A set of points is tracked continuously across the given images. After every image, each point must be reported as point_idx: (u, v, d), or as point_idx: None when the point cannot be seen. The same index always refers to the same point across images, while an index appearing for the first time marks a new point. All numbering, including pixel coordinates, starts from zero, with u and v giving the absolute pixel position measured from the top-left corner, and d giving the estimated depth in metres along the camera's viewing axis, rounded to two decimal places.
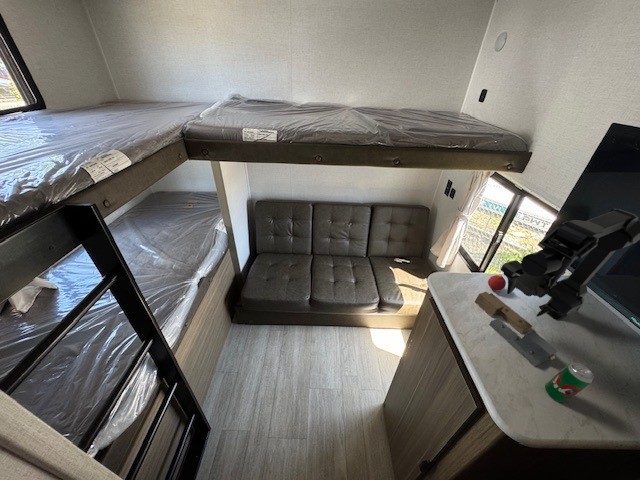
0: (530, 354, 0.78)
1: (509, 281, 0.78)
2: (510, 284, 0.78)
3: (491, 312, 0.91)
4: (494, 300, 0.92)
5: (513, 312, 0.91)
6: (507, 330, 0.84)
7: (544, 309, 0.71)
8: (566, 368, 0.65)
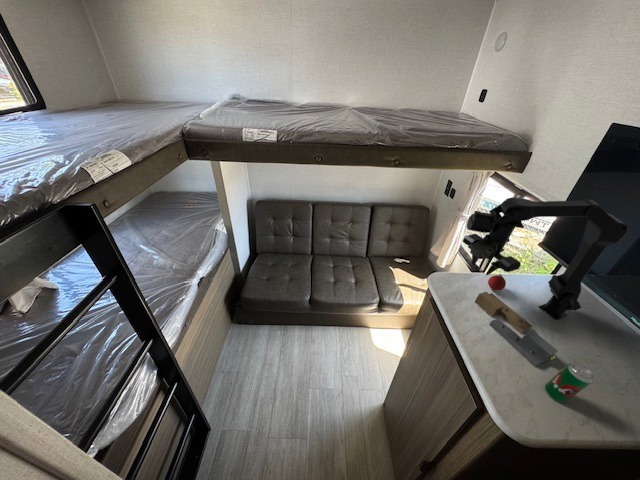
0: (530, 354, 0.78)
1: None
2: (473, 255, 0.94)
3: (491, 312, 0.91)
4: (494, 300, 0.92)
5: (513, 312, 0.91)
6: (507, 330, 0.84)
7: (490, 268, 0.89)
8: (566, 368, 0.65)
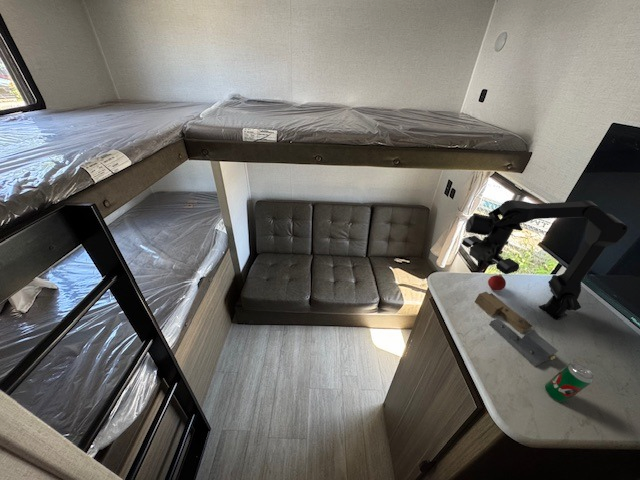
0: (530, 354, 0.78)
1: None
2: (479, 262, 0.93)
3: (491, 312, 0.91)
4: (494, 300, 0.92)
5: (513, 312, 0.91)
6: (507, 330, 0.84)
7: (482, 265, 0.92)
8: (566, 368, 0.65)
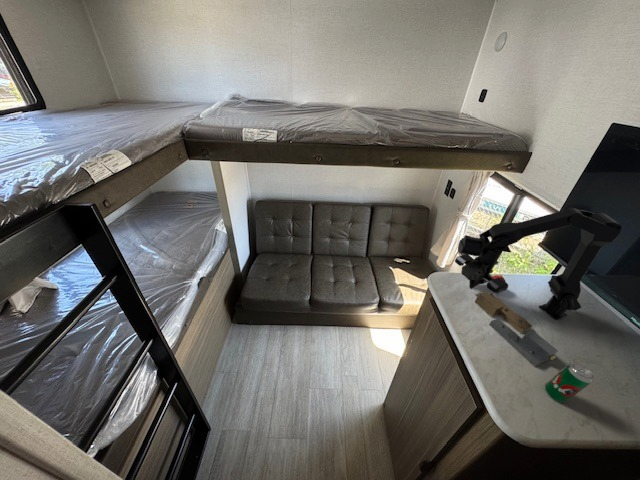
0: (530, 354, 0.78)
1: None
2: (471, 280, 0.97)
3: (491, 312, 0.91)
4: (494, 300, 0.92)
5: (513, 312, 0.91)
6: (507, 330, 0.84)
7: (474, 282, 0.96)
8: (566, 368, 0.65)
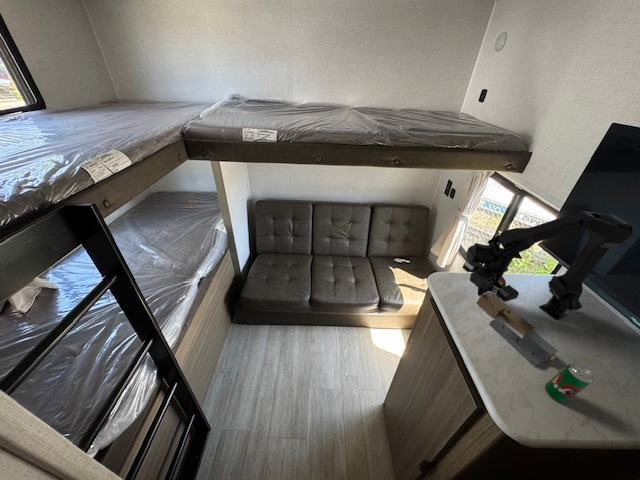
0: (530, 354, 0.78)
1: None
2: None
3: (493, 314, 0.90)
4: (496, 302, 0.91)
5: (515, 314, 0.90)
6: (507, 330, 0.84)
7: (482, 289, 0.93)
8: (566, 368, 0.65)
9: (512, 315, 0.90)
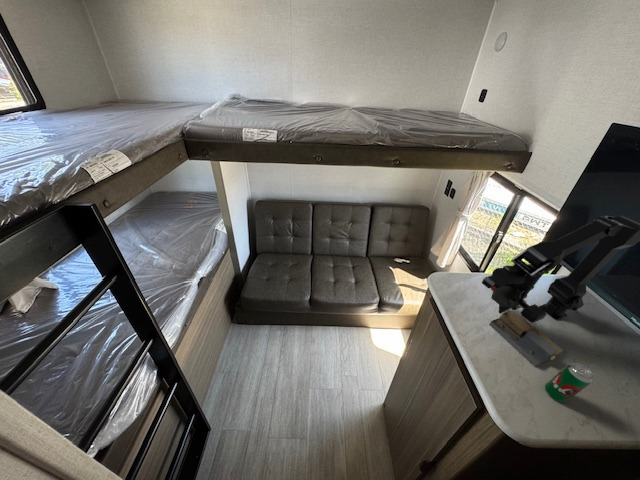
0: (530, 354, 0.78)
1: None
2: None
3: None
4: (519, 321, 0.85)
5: (540, 334, 0.84)
6: (507, 330, 0.84)
7: (504, 307, 0.87)
8: (566, 368, 0.65)
9: None
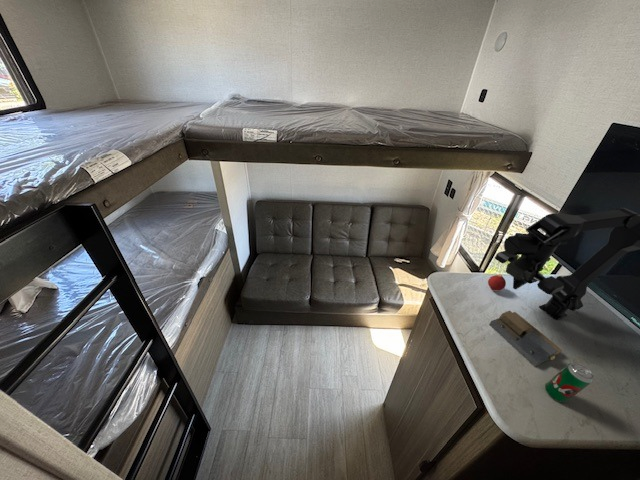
0: (530, 354, 0.78)
1: None
2: (515, 279, 0.85)
3: None
4: (519, 321, 0.85)
5: (540, 334, 0.84)
6: (507, 330, 0.84)
7: (519, 282, 0.84)
8: (566, 368, 0.65)
9: None
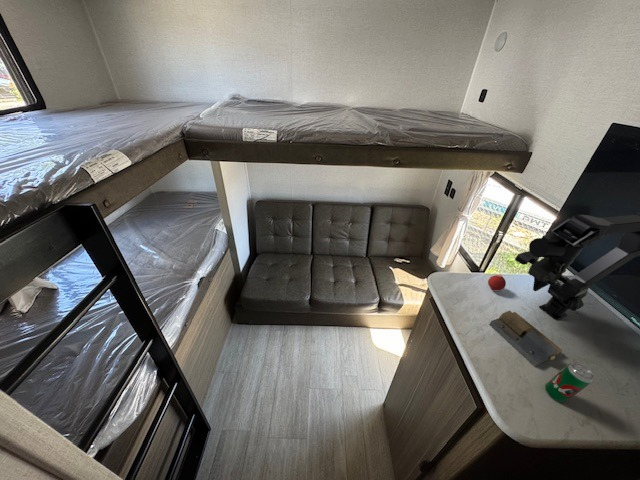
0: (530, 354, 0.78)
1: (535, 278, 0.84)
2: (536, 281, 0.84)
3: None
4: (519, 321, 0.85)
5: (540, 334, 0.84)
6: (507, 330, 0.84)
7: (541, 284, 0.83)
8: (566, 368, 0.65)
9: None
